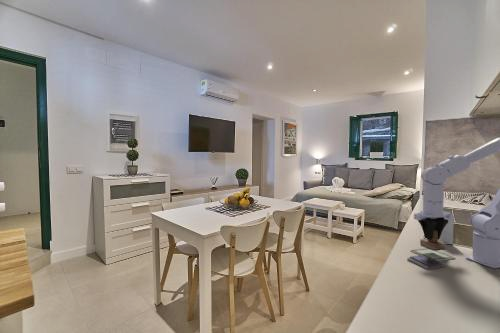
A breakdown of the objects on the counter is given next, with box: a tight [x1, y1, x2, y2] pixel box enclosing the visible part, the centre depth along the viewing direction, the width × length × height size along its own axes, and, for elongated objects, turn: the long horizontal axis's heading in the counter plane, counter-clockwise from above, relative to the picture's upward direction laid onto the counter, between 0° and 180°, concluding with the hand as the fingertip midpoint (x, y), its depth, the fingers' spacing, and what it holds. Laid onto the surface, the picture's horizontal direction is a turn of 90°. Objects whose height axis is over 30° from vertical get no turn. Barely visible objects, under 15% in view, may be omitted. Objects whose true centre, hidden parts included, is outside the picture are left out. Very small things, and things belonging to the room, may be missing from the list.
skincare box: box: [438, 214, 454, 245], centre depth 95 cm, size 6×4×12 cm
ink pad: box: [406, 255, 446, 270], centre depth 75 cm, size 7×7×1 cm
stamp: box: [419, 230, 446, 251], centre depth 82 cm, size 5×5×6 cm
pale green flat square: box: [410, 247, 456, 262], centre depth 82 cm, size 9×9×1 cm
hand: (432, 238), depth 82 cm, fingers closed on stamp, 3 cm apart
